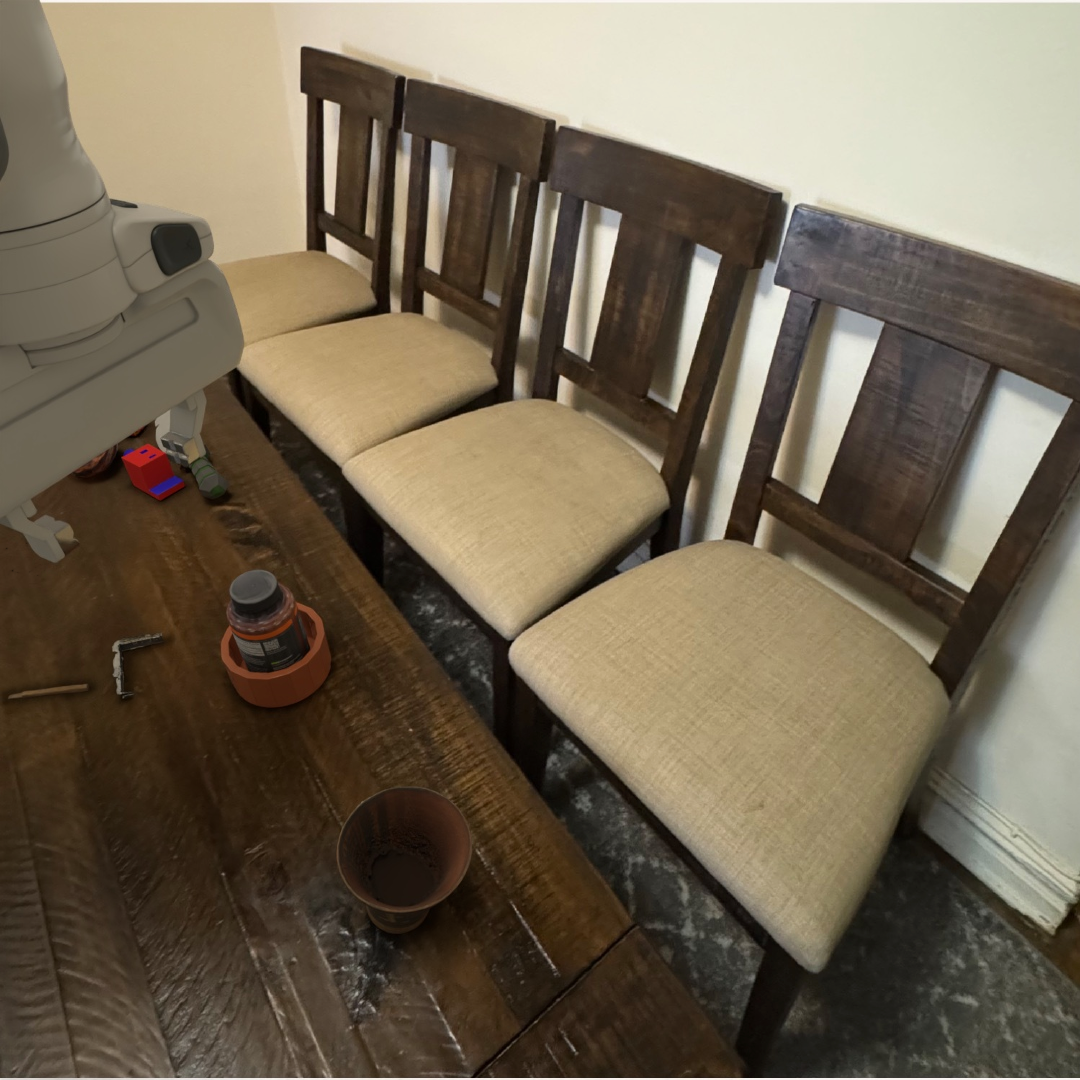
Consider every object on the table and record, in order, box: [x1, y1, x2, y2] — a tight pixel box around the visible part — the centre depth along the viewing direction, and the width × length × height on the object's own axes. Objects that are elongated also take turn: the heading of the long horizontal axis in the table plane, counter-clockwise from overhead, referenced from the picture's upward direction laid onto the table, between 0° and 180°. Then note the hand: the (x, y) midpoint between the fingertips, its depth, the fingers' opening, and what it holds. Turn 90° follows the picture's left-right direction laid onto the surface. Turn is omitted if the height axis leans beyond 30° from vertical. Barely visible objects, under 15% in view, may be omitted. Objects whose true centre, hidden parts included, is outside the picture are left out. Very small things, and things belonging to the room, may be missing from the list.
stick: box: [7, 683, 91, 700], centre depth 69 cm, size 7×1×1 cm, turn 100°
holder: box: [220, 601, 332, 709], centre depth 70 cm, size 9×9×4 cm
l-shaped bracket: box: [111, 631, 164, 699], centre depth 71 cm, size 7×1×5 cm
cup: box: [335, 785, 473, 935], centre depth 53 cm, size 9×9×10 cm
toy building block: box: [121, 443, 186, 501], centre depth 90 cm, size 4×4×8 cm
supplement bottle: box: [226, 569, 311, 673], centre depth 68 cm, size 6×6×11 cm
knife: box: [154, 409, 231, 500], centre depth 94 cm, size 22×4×5 cm
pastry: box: [71, 442, 122, 479], centre depth 93 cm, size 8×8×5 cm
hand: (128, 502), depth 43 cm, fingers open, 8 cm apart
